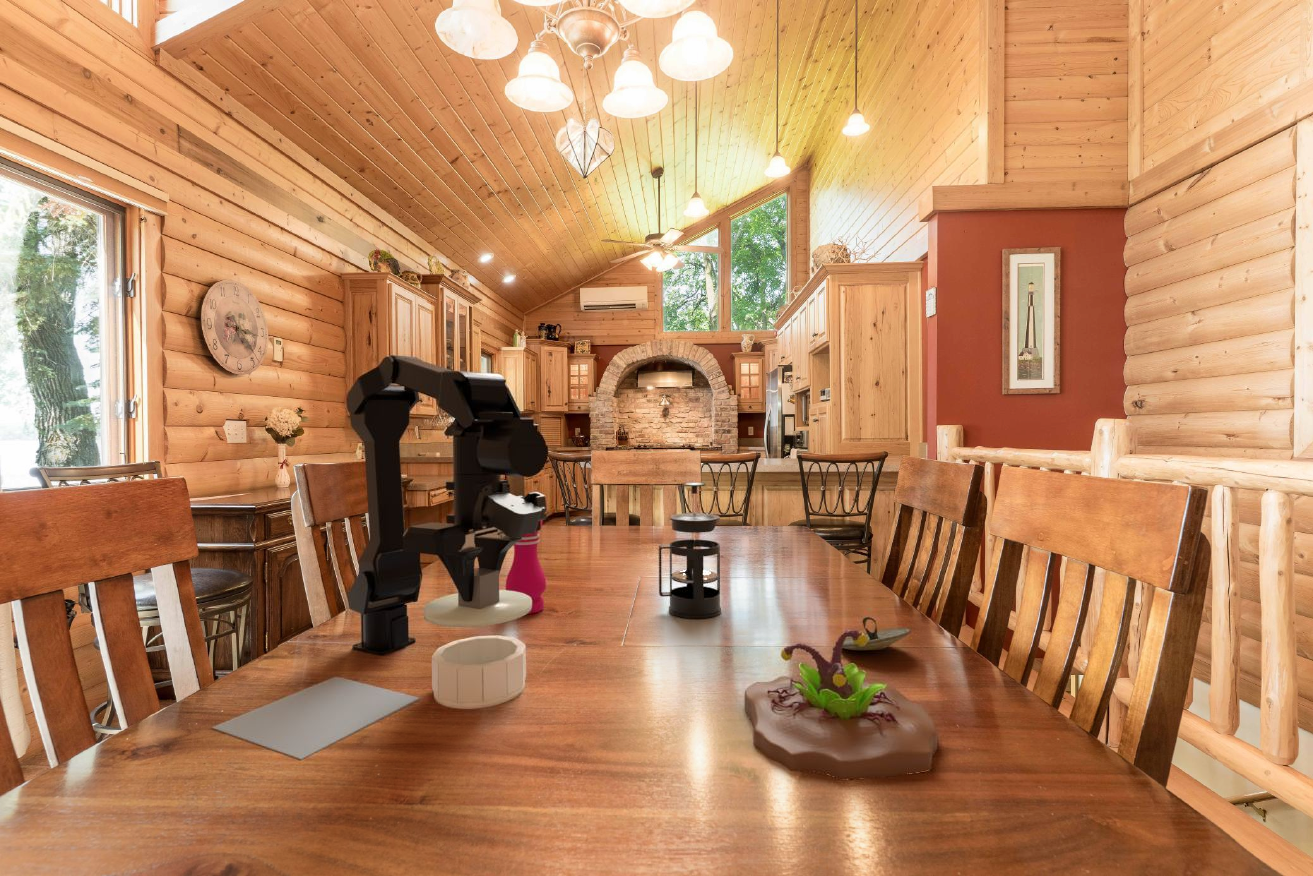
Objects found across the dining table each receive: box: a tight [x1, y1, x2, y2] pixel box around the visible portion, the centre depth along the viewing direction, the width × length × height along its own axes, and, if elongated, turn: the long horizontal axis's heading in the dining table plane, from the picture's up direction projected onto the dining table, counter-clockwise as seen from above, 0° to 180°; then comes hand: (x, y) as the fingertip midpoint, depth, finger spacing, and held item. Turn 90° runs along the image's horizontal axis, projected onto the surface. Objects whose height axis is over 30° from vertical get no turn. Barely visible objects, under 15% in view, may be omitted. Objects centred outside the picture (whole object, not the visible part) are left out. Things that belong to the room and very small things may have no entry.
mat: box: [211, 676, 421, 761], centre depth 71 cm, size 15×15×1 cm
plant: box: [744, 629, 938, 781], centre depth 67 cm, size 20×20×11 cm
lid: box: [842, 616, 912, 651], centre depth 90 cm, size 11×10×5 cm
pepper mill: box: [505, 520, 547, 615], centre depth 111 cm, size 7×7×20 cm
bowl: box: [431, 634, 527, 710], centre depth 77 cm, size 11×11×5 cm
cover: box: [423, 567, 532, 628], centre depth 77 cm, size 13×13×5 cm
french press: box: [658, 481, 722, 620], centre depth 110 cm, size 12×9×23 cm
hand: (478, 597), depth 77 cm, fingers closed on cover, 3 cm apart
